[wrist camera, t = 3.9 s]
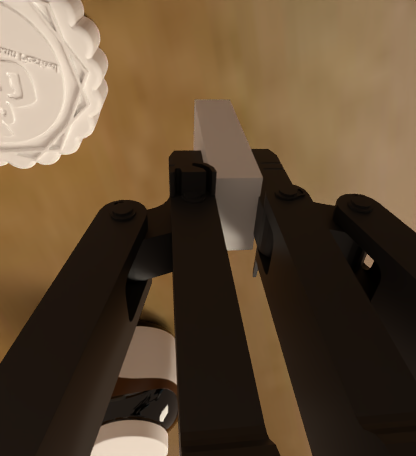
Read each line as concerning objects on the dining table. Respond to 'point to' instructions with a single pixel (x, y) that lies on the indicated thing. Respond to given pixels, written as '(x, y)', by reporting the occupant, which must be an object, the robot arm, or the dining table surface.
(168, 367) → the spread jar
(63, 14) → the mooncake
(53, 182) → the dining table surface
